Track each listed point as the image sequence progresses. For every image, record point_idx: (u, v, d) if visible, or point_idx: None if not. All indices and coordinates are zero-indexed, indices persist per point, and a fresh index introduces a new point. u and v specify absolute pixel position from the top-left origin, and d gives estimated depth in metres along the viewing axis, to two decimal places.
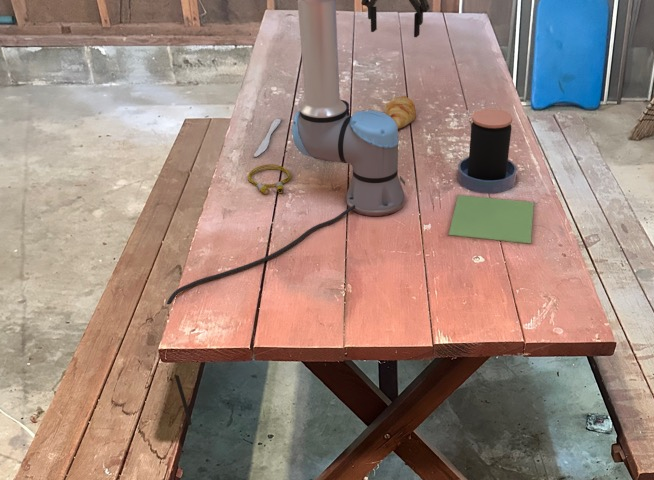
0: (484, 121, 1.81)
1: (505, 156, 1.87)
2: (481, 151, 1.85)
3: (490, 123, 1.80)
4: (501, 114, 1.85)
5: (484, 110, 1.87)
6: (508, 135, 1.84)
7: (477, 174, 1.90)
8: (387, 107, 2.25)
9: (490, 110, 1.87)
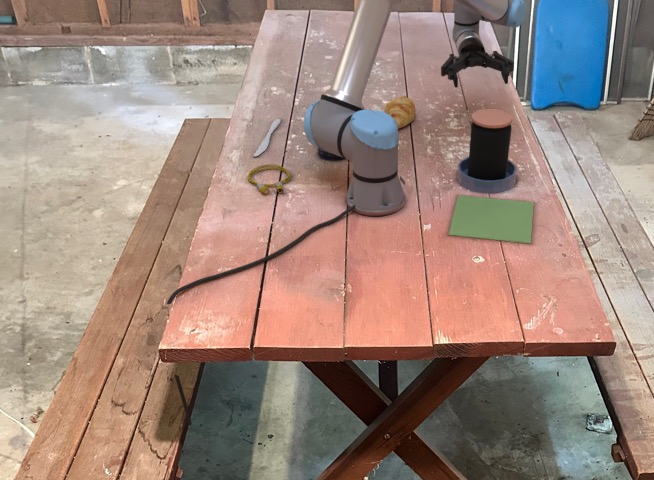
0: (484, 121, 1.81)
1: (505, 156, 1.87)
2: (481, 151, 1.85)
3: (490, 123, 1.80)
4: (501, 114, 1.85)
5: (484, 110, 1.87)
6: (508, 135, 1.84)
7: (477, 174, 1.90)
8: (387, 107, 2.25)
9: (490, 110, 1.87)
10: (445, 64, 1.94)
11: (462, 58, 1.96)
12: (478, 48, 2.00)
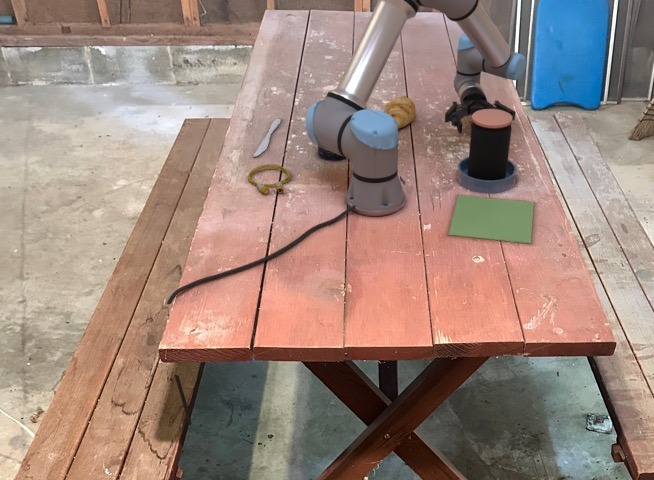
0: (484, 121, 1.81)
1: (505, 156, 1.87)
2: (481, 151, 1.85)
3: (490, 123, 1.80)
4: (501, 114, 1.85)
5: (484, 110, 1.87)
6: (508, 135, 1.84)
7: (477, 174, 1.90)
8: (387, 107, 2.25)
9: (490, 110, 1.87)
10: (449, 111, 2.00)
11: (465, 106, 2.02)
12: (480, 97, 2.07)
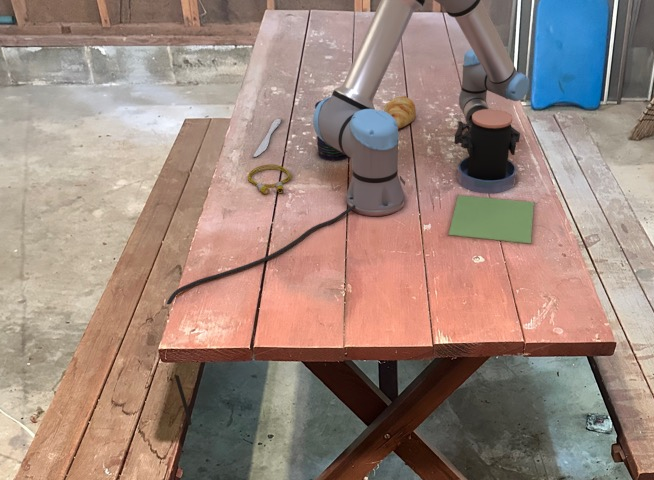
0: (484, 121, 1.81)
1: (505, 156, 1.87)
2: (481, 151, 1.85)
3: (490, 123, 1.80)
4: (501, 114, 1.85)
5: (484, 110, 1.87)
6: (508, 135, 1.84)
7: (477, 174, 1.90)
8: (387, 107, 2.25)
9: (490, 110, 1.87)
10: (458, 132, 1.92)
11: None
12: None
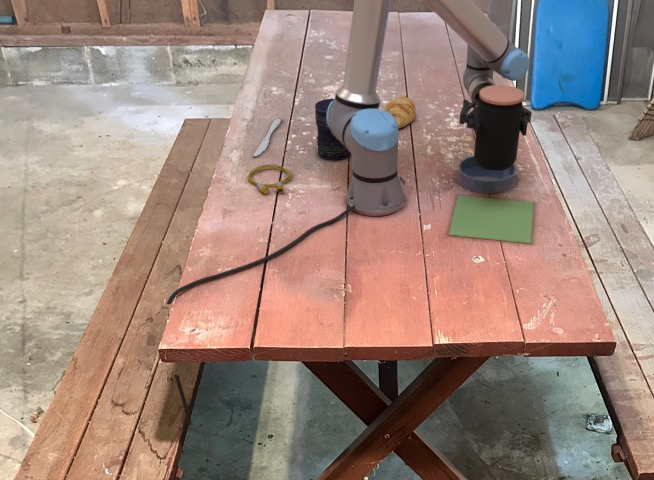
0: (493, 97, 1.64)
1: (516, 137, 1.70)
2: (490, 131, 1.68)
3: (500, 100, 1.63)
4: (511, 90, 1.68)
5: (492, 87, 1.70)
6: (519, 113, 1.67)
7: (484, 157, 1.72)
8: (387, 107, 2.25)
9: (499, 86, 1.70)
10: (463, 111, 1.74)
11: None
12: None
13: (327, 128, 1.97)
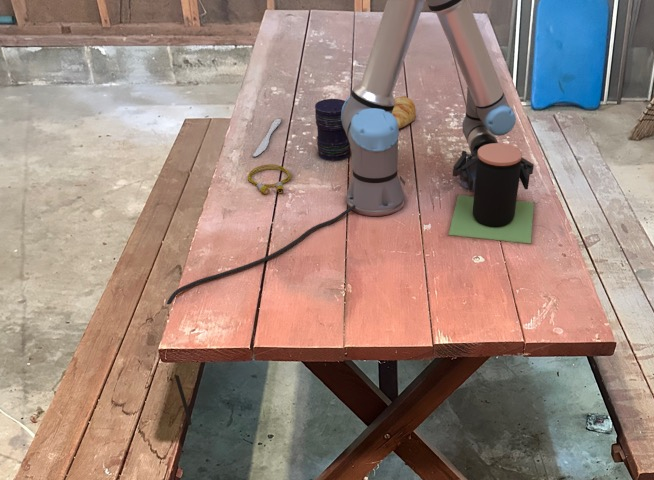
0: (491, 158, 1.65)
1: (514, 195, 1.70)
2: (488, 190, 1.68)
3: (498, 160, 1.64)
4: (509, 149, 1.68)
5: (491, 145, 1.70)
6: (517, 173, 1.67)
7: (483, 214, 1.73)
8: None
9: (497, 144, 1.70)
10: (458, 163, 1.75)
11: (476, 157, 1.77)
12: None
13: (327, 128, 1.97)
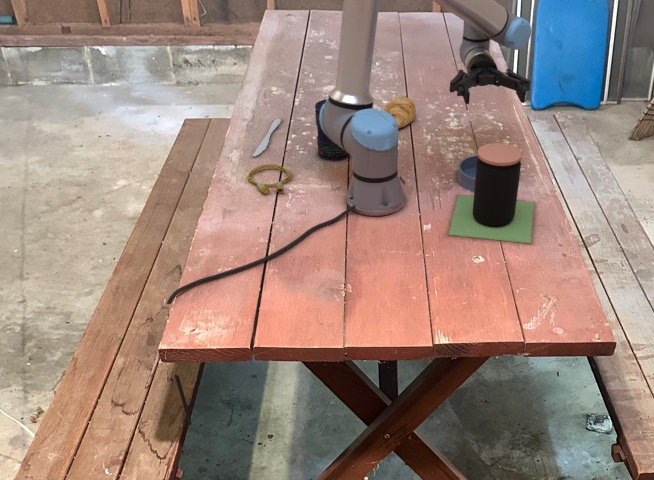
0: (491, 158, 1.65)
1: (514, 195, 1.70)
2: (488, 190, 1.68)
3: (498, 160, 1.64)
4: (510, 149, 1.68)
5: (491, 145, 1.70)
6: (517, 173, 1.67)
7: (483, 214, 1.73)
8: (387, 107, 2.25)
9: (497, 144, 1.70)
10: (454, 79, 1.75)
11: (473, 74, 1.77)
12: (490, 65, 1.81)
13: None
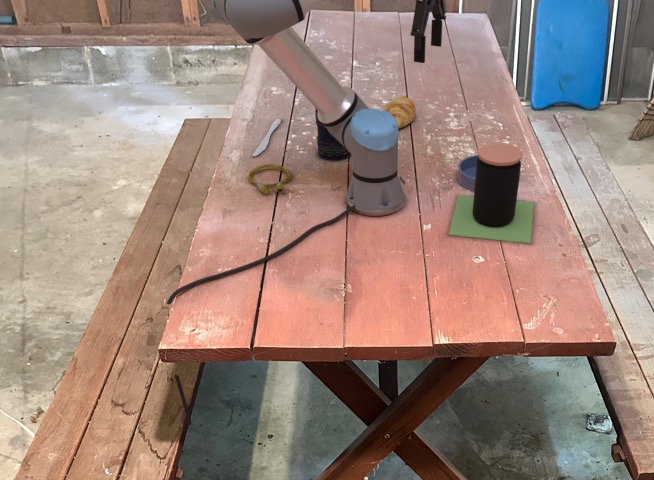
0: (491, 158, 1.65)
1: (514, 195, 1.70)
2: (488, 190, 1.68)
3: (498, 160, 1.64)
4: (510, 149, 1.68)
5: (491, 145, 1.70)
6: (517, 173, 1.67)
7: (483, 214, 1.73)
8: (387, 107, 2.25)
9: (497, 144, 1.70)
10: None
11: None
12: None
13: None
